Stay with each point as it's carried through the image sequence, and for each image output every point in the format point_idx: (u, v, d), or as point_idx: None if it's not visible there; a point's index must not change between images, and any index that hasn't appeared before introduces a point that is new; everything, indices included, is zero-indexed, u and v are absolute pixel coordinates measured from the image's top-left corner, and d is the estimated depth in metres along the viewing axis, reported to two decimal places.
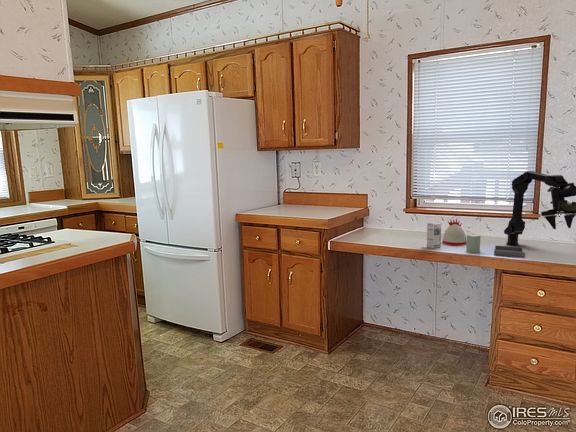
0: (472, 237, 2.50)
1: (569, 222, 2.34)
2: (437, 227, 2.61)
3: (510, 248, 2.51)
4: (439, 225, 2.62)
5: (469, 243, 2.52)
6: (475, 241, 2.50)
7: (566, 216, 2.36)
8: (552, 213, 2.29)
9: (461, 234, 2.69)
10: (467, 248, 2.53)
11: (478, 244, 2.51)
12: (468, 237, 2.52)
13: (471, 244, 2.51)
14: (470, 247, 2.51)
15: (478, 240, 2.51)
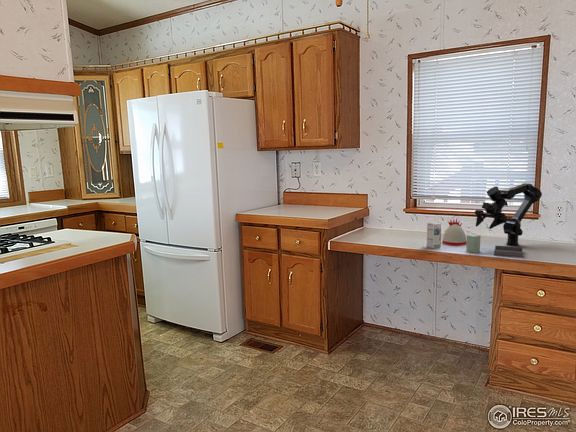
0: (472, 237, 2.50)
1: None
2: (437, 227, 2.61)
3: (510, 248, 2.51)
4: (439, 225, 2.62)
5: (469, 243, 2.52)
6: (475, 241, 2.50)
7: None
8: (476, 211, 2.62)
9: (461, 234, 2.69)
10: (467, 248, 2.53)
11: (478, 244, 2.51)
12: (468, 237, 2.52)
13: (471, 244, 2.51)
14: (470, 247, 2.51)
15: (478, 240, 2.51)
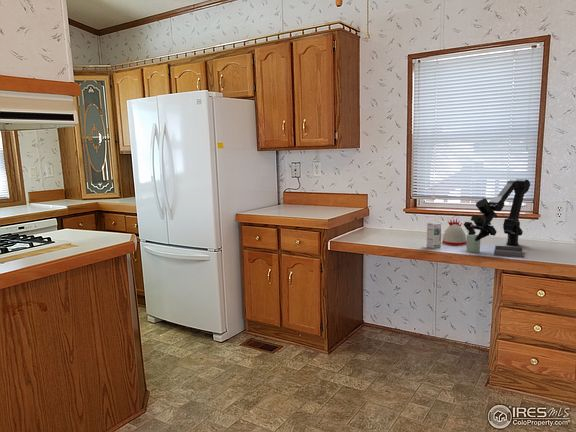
0: (472, 237, 2.50)
1: None
2: (437, 227, 2.61)
3: (510, 248, 2.51)
4: (439, 225, 2.62)
5: (469, 243, 2.52)
6: (475, 241, 2.50)
7: None
8: (465, 223, 2.59)
9: (461, 234, 2.69)
10: (467, 248, 2.53)
11: (478, 244, 2.51)
12: (468, 237, 2.52)
13: (471, 244, 2.51)
14: (470, 247, 2.51)
15: (478, 240, 2.51)
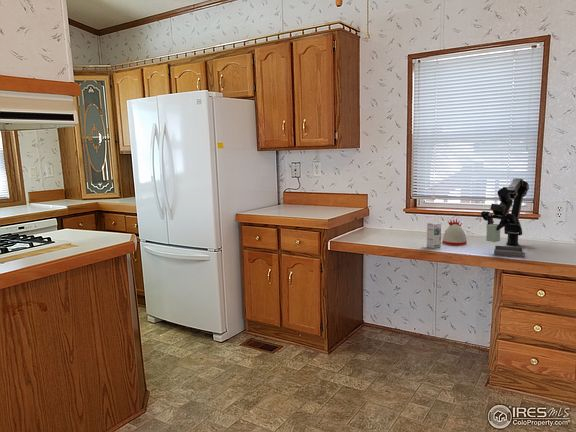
0: (493, 226, 2.44)
1: None
2: (437, 227, 2.61)
3: (510, 248, 2.51)
4: (439, 225, 2.62)
5: (489, 233, 2.46)
6: (496, 230, 2.43)
7: None
8: (483, 213, 2.52)
9: (461, 234, 2.69)
10: (487, 238, 2.47)
11: (498, 233, 2.45)
12: (488, 227, 2.46)
13: (491, 234, 2.45)
14: (491, 237, 2.45)
15: None
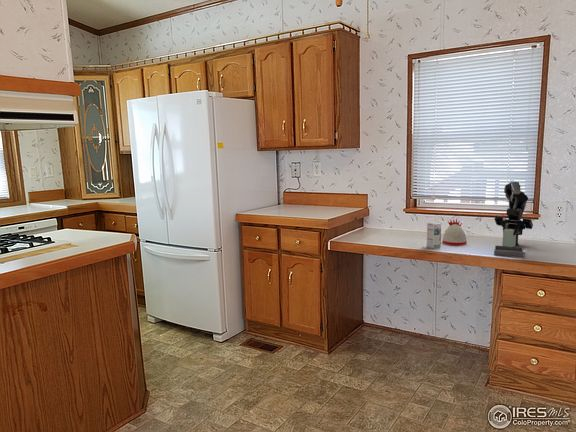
0: (510, 231, 2.42)
1: None
2: (437, 227, 2.61)
3: (510, 248, 2.51)
4: (439, 225, 2.62)
5: (505, 238, 2.44)
6: (513, 235, 2.42)
7: None
8: (497, 218, 2.50)
9: (461, 234, 2.69)
10: (503, 243, 2.45)
11: (514, 238, 2.44)
12: (505, 232, 2.44)
13: (508, 239, 2.43)
14: (508, 242, 2.43)
15: None
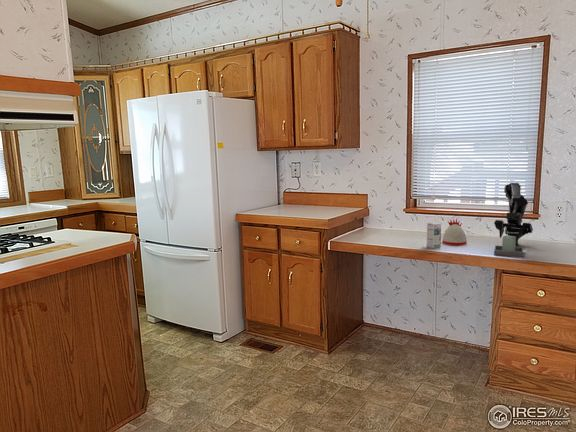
0: (509, 238, 2.42)
1: None
2: (437, 227, 2.61)
3: None
4: (439, 225, 2.62)
5: (505, 244, 2.44)
6: (512, 242, 2.43)
7: None
8: (497, 222, 2.51)
9: (461, 234, 2.69)
10: (503, 250, 2.46)
11: (514, 245, 2.45)
12: (504, 238, 2.44)
13: (508, 245, 2.43)
14: (507, 249, 2.44)
15: (514, 241, 2.44)
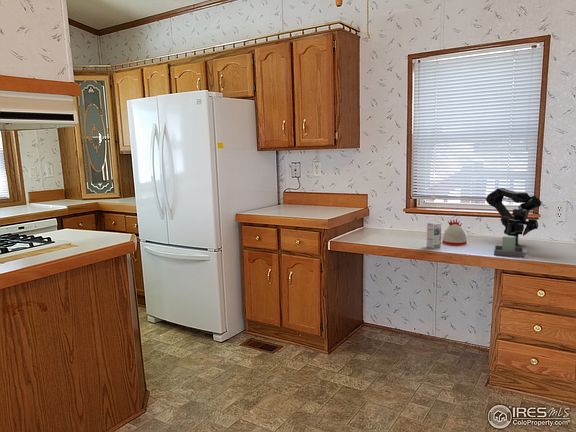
0: (509, 238, 2.42)
1: None
2: (437, 227, 2.61)
3: None
4: (439, 225, 2.62)
5: (505, 244, 2.44)
6: (512, 242, 2.43)
7: None
8: (503, 218, 2.57)
9: (461, 234, 2.69)
10: (503, 250, 2.46)
11: (514, 245, 2.45)
12: (504, 238, 2.44)
13: (508, 245, 2.43)
14: (507, 249, 2.44)
15: (514, 241, 2.44)
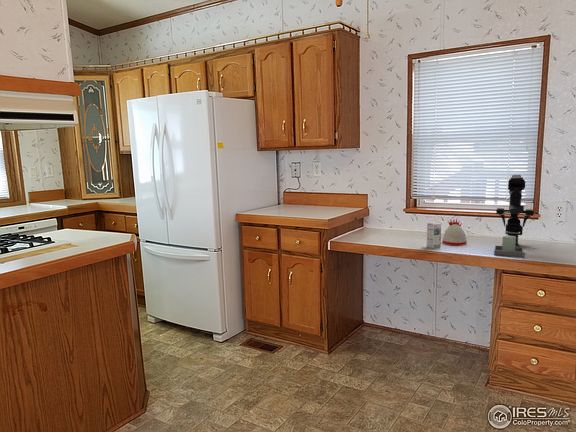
0: (509, 238, 2.42)
1: (523, 221, 2.51)
2: (437, 227, 2.61)
3: None
4: (439, 225, 2.62)
5: (505, 244, 2.44)
6: (512, 242, 2.43)
7: (524, 216, 2.52)
8: (499, 212, 2.54)
9: (461, 234, 2.69)
10: (503, 250, 2.46)
11: (514, 245, 2.45)
12: (504, 238, 2.44)
13: (508, 245, 2.43)
14: (507, 249, 2.44)
15: (514, 241, 2.44)
